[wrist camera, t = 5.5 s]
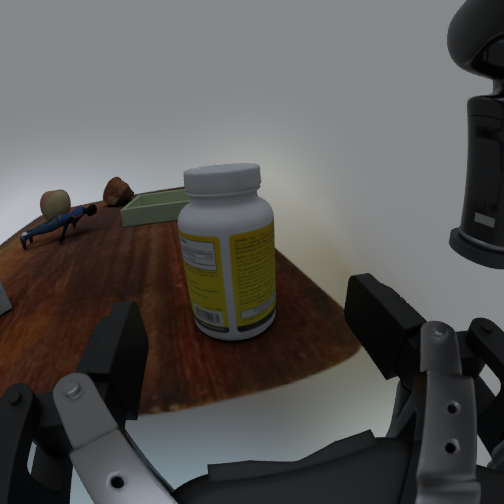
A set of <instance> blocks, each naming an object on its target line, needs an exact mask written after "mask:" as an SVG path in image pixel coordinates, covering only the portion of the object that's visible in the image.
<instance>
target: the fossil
mask: <svg viewBox="0 0 504 504" xmlns="http://www.w3.org/2000/svg"><path fill="white" fill-rule="evenodd" d="M133 195H134V192H133V191H132V190H131V189H130V187H129V185H128V184H127V183H125V182H124V181H122V180H121V178H119V177H114V178H112V179H111V180H110V181H109V182H108V184H107V186H106V188H105V190H104V194H103V201H105V202H106V203H108V204H110V205H117V204H122V203H124V202H126V201H128V200H129V199H130V198H131V197H132V196H133Z"/></svg>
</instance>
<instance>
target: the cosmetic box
mask: <svg viewBox="0 0 504 504" xmlns="http://www.w3.org/2000/svg"><path fill="white" fill-rule="evenodd" d="M11 308H12V305H11V303H10V301H9V299H8V297H7V295H6V292H5V290H4V287H3V285H2V282H1V280H0V315H2V314H3V313H5V312H6V311H8V310H10V309H11Z"/></svg>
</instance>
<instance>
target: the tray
mask: <svg viewBox="0 0 504 504" xmlns="http://www.w3.org/2000/svg"><path fill="white" fill-rule="evenodd" d="M189 203H190V196H188V195H186V190H185V189H183V190H174V191H167V192H159V193H152V194H145V195H138V196H137V197H136V198H134V199H133V200H132V201H131V202H130V203H129V204H127V205H126V206H125V207H124V208H123V209H122V210H120V211H121V217H122V222H123V227H126V226H134V225H141V224H149V223H157V222H165V221H173V220H178V216H179V214H180V212H181V210H182V209H183V208H184V207H185V206H186V205H187V204H189Z"/></svg>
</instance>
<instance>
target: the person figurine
mask: <svg viewBox="0 0 504 504" xmlns="http://www.w3.org/2000/svg"><path fill="white" fill-rule="evenodd" d="M96 212H97V208H96V206H95V205H94V204H92V205H90V206H89V207H88V208H84V207H78V208H76V209H75V210H74V211H72V212H70V213H68V214H61V215H59V216H58V217H56V218H55V219H53V220H52V221H50V222H49V223H47V224H43V225H40V226H38V227H36V228H34V229H32V230H28V231H27V233H26V232H24V233H22V236H21V237H20V240H21V244H22V247H23V248H24V250H26V240H27V239H29V241H30V243H32V242H33V236H35V235H41V234H45V233H48V232H52V231H54V230H56V229H58V228H59V227H61V226H64V229H63V233H62V236H61V238H60V240H59V241H60V242H61V243H62V244H63V240H64V239H65V238H64V235H65V232H66V230H67V227H68V225H69V224H70V223H73V224H74V225H73V224H72V225H73V226H74V227H76V223H77V222H78V220H79V219H80V218H81V217H82V216H83V215H84V214H88V216H92V215H93V214H95V213H96ZM73 226H72V227H73ZM74 227H73V228H74ZM74 229H75V228H74ZM59 241H58V242H59ZM60 242H59V243H60ZM61 243H60V245H61Z"/></svg>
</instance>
